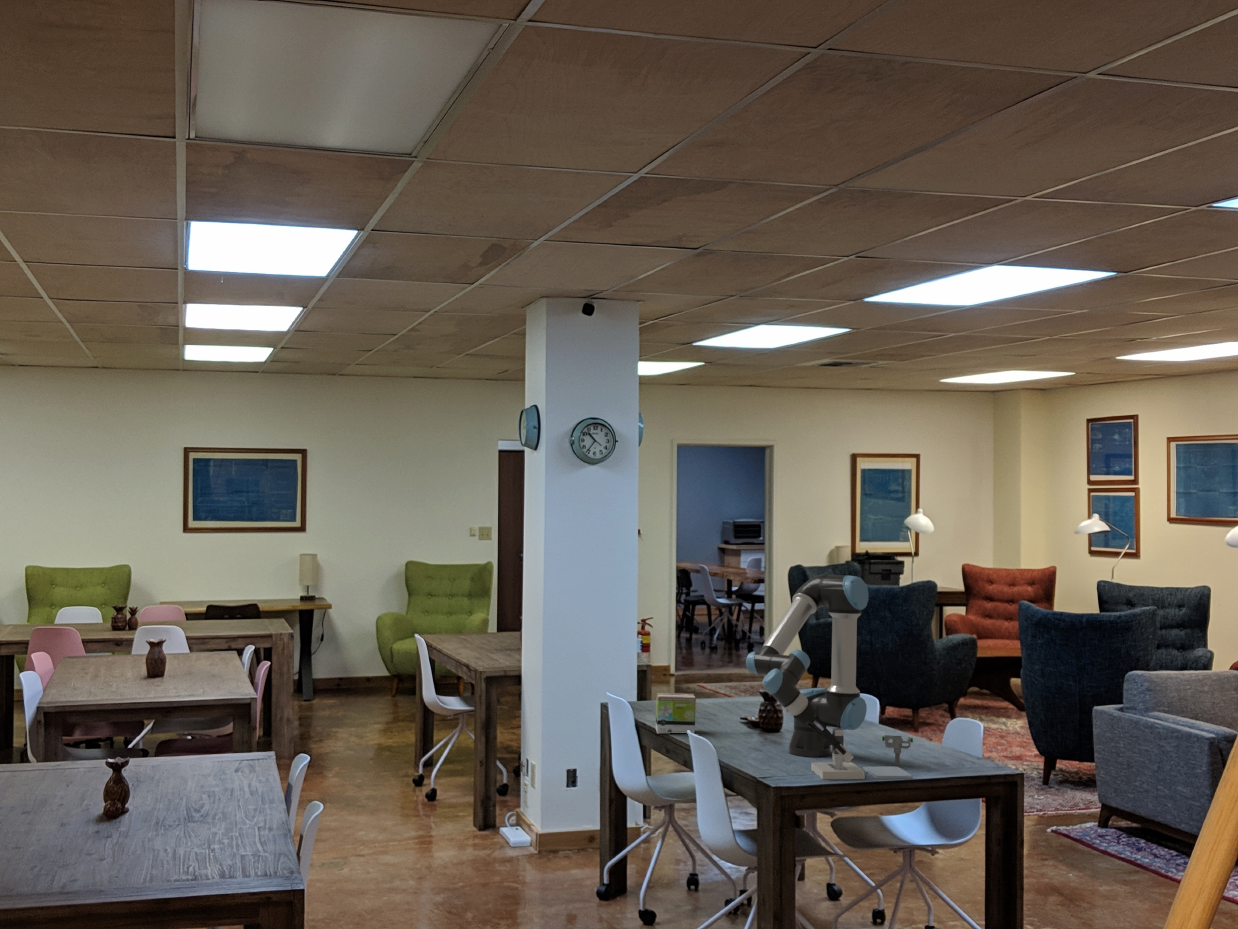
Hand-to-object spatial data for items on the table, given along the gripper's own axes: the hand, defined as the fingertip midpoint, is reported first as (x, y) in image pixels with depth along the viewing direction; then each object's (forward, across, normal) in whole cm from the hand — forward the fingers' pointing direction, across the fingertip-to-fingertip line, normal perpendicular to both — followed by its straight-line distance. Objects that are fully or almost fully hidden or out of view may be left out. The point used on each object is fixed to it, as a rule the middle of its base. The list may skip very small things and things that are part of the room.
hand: (849, 758), depth 385 cm
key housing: (+1, 0, -6) cm, 6 cm away
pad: (+13, 0, +6) cm, 14 cm away
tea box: (-29, -76, -37) cm, 90 cm away
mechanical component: (+19, -13, +11) cm, 25 cm away
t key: (+1, 0, -6) cm, 6 cm away
